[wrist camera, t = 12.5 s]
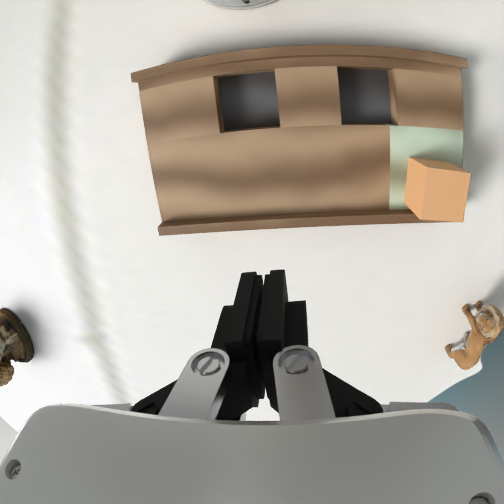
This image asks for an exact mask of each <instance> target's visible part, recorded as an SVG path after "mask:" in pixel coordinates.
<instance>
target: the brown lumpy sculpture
mask: <svg viewBox="0 0 504 504" xmlns="http://www.w3.org/2000/svg"><path fill="white" fill-rule="evenodd" d="M33 354H34V351H33V344H32V341H31V339H30V336H29V334H28V332H27V330H26V328H25V327H24V325H23V324H21V323H20V320H19V319H18V317H17V316H15V315H14V314H13V313H12V312H11V311H9V310H7V309H4V308H3V309H0V386H3V385H6V384H8V382H9V381H10V380H11V379H12V376H13V374H14V368H13V366H11V361H10V360H11V359H12V360H14V361H15V362H17V361H19V362H26V363H27V362H29V361H30V360H31V359H32V358H33Z"/></svg>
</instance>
